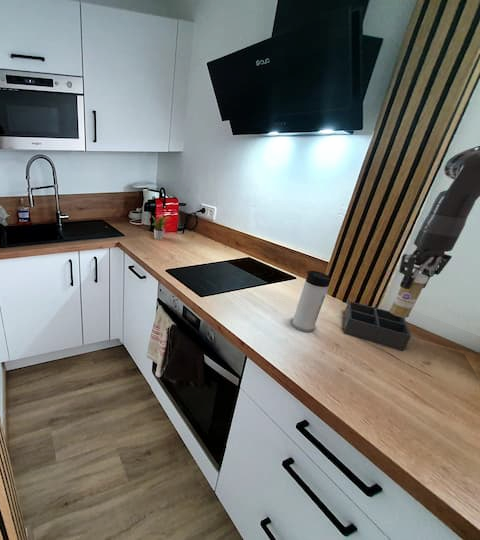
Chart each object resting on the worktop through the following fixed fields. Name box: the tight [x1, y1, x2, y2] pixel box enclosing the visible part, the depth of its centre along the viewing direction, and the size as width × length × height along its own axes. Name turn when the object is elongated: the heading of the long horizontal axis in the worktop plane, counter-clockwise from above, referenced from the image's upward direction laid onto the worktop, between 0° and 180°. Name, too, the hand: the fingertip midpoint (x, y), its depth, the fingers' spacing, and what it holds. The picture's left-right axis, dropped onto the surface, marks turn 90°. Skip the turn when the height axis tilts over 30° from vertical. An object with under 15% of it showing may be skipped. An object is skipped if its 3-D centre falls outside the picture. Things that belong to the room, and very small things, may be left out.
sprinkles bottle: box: [388, 271, 429, 319], centre depth 84 cm, size 5×5×14 cm
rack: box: [342, 300, 412, 352], centre depth 94 cm, size 15×15×6 cm
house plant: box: [151, 214, 170, 241], centre depth 180 cm, size 14×14×16 cm
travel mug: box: [291, 270, 332, 333], centre depth 93 cm, size 6×7×20 cm
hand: (412, 287), depth 83 cm, fingers closed on sprinkles bottle, 4 cm apart
